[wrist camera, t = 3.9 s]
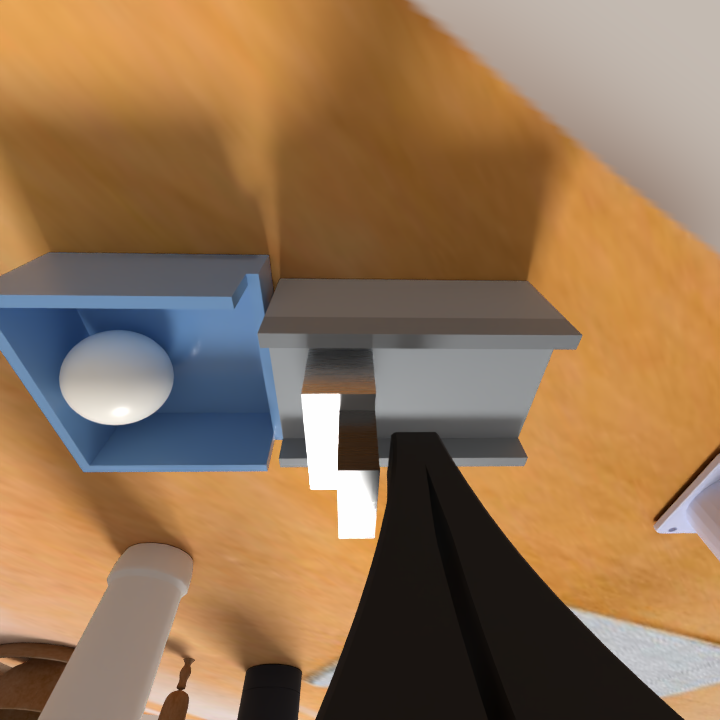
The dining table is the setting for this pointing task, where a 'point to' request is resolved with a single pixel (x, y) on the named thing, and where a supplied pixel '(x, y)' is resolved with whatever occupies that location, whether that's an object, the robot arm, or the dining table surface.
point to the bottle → (123, 638)
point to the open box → (172, 332)
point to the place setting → (41, 673)
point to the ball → (116, 377)
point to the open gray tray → (421, 357)
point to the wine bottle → (271, 693)
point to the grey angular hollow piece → (343, 433)
